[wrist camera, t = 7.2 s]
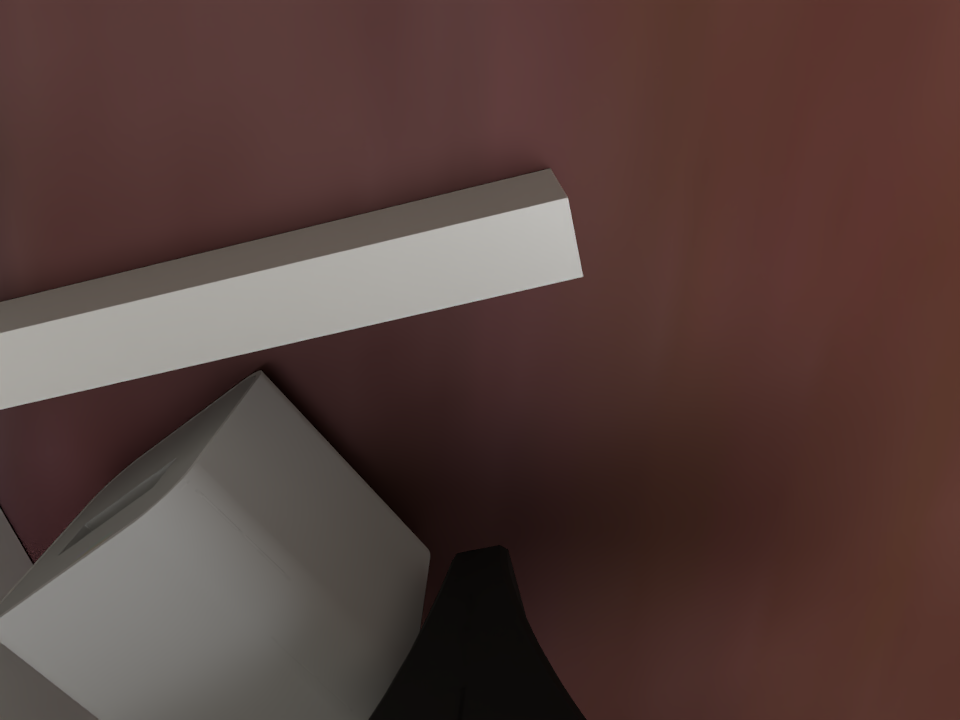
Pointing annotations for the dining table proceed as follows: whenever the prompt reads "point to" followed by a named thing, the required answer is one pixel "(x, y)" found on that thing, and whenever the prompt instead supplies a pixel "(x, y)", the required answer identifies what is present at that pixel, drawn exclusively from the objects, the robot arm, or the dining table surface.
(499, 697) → the robot arm
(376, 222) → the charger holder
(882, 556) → the dining table surface
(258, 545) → the usb wall charger
